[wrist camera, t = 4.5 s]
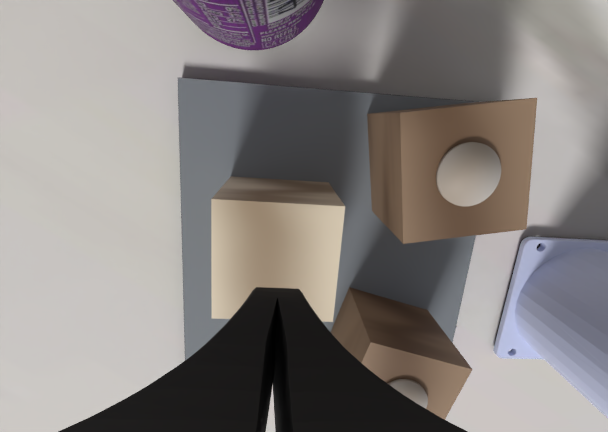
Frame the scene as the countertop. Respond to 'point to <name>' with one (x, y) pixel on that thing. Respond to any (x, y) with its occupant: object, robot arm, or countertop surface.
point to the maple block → (275, 242)
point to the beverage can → (251, 20)
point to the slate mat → (304, 167)
